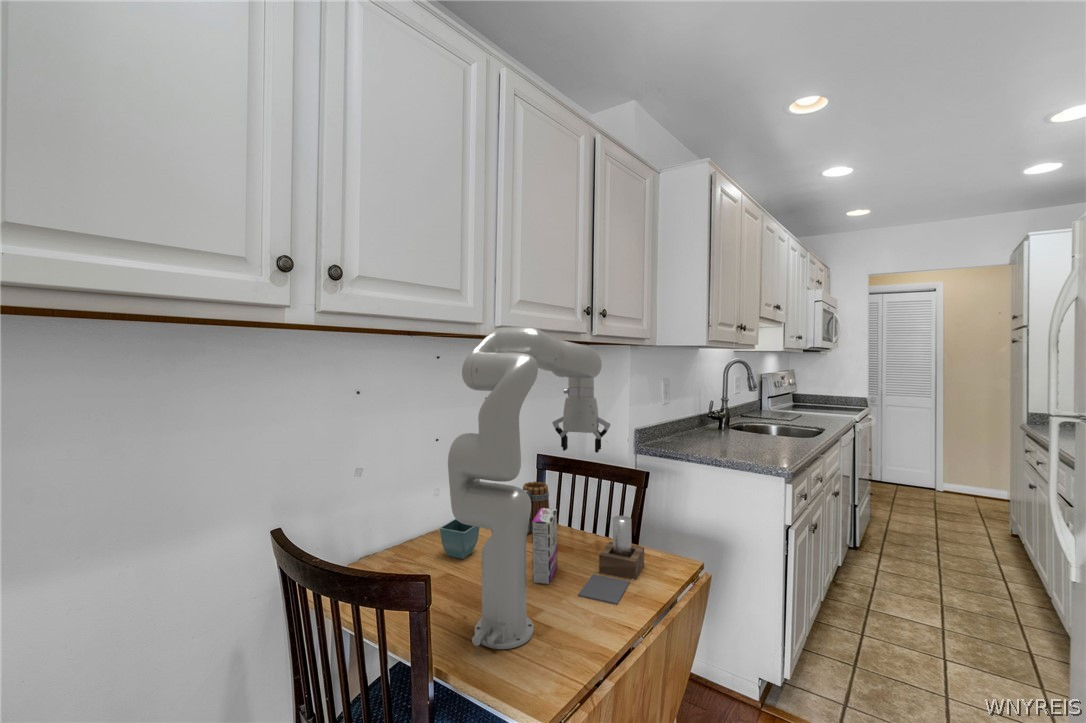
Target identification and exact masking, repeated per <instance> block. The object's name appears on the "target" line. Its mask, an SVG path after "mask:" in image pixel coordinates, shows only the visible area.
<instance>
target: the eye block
mask: <svg viewBox="0 0 1086 723" xmlns="http://www.w3.org/2000/svg"><path fill="white" fill-rule="evenodd" d="M643 565H644V566H645V547H644V546H637V545H632V544H631V557H625V556H620V555H614V554H613V541H609V542H608V543H607V545H606V546H605V547H604V548H603V550H602V551H601V552H600V553H599V554H598V567H599V568H598V569H599V570H598V572H599V574H603V575H606V574H607V575H606V576H611V575H612V576H613V577H616V576H617V578H621V577H623V578H622V579H626V578H628V580H631V579H634V580H633V581H636V580H637V579H638V577H639V576H640V573H641V571H642V570H641V569H643V568H644V566H643ZM642 567H643V568H642ZM637 576H638V577H637ZM636 578H637V579H636Z"/></svg>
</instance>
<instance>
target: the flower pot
mask: <svg viewBox="0 0 1086 723" xmlns="http://www.w3.org/2000/svg"><path fill="white" fill-rule="evenodd" d="M439 533H440V538H441V539H440V540H441V544H442V547H443V549H444V551H445V553H446V554H447V556H448V557H451V558H456V559H459V560H462V559H465V558H466V557H468V556H469V555H470V554H472V553H473V552H474V550H475V548H476V546H477V543H478V539H479V534H480V527H476V526H470V525H466V524H463V523H460V522H459V521H457V520H456V518H454V519H452V520H451V521H449V522H448V523H446V524H444V525H442V526H440V527H439Z"/></svg>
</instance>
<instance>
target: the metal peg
mask: <svg viewBox="0 0 1086 723" xmlns="http://www.w3.org/2000/svg"><path fill="white" fill-rule="evenodd" d="M612 542H613V554H614V555H620V556H625V557H631V545H632V518H631V517H629V516H628V515H627V516H626V515H615V516H614V517H613V518H612Z"/></svg>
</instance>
